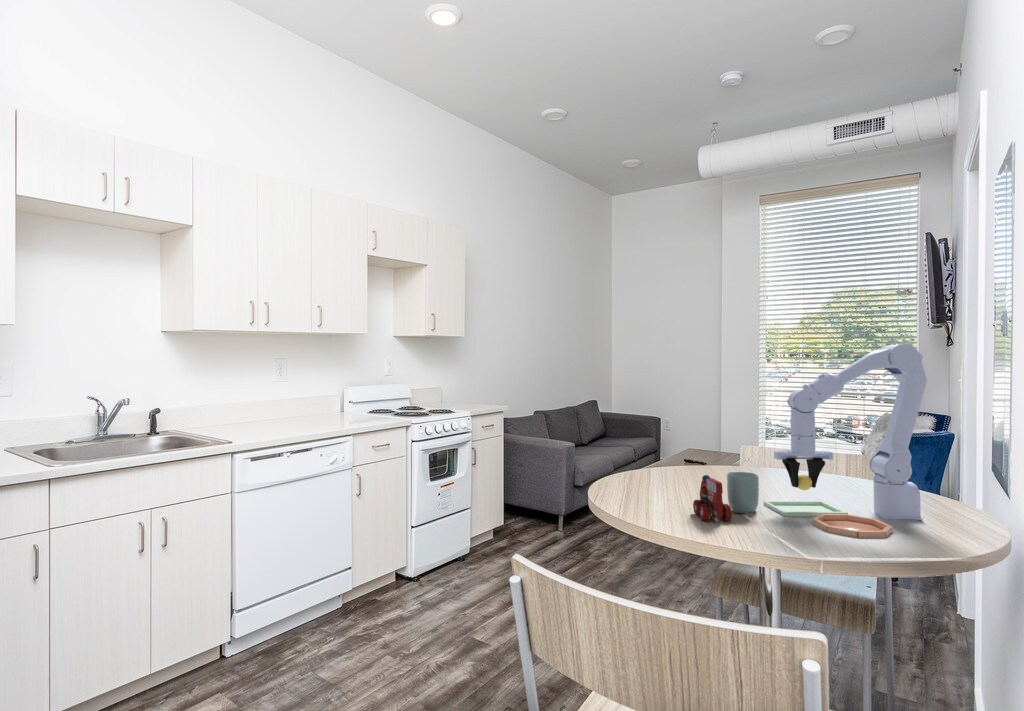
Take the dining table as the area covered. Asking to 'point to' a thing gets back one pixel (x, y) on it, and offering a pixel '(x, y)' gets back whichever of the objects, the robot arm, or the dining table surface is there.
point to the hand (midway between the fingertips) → (803, 486)
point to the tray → (803, 508)
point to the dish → (853, 525)
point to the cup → (743, 491)
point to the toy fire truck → (711, 501)
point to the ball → (804, 482)
